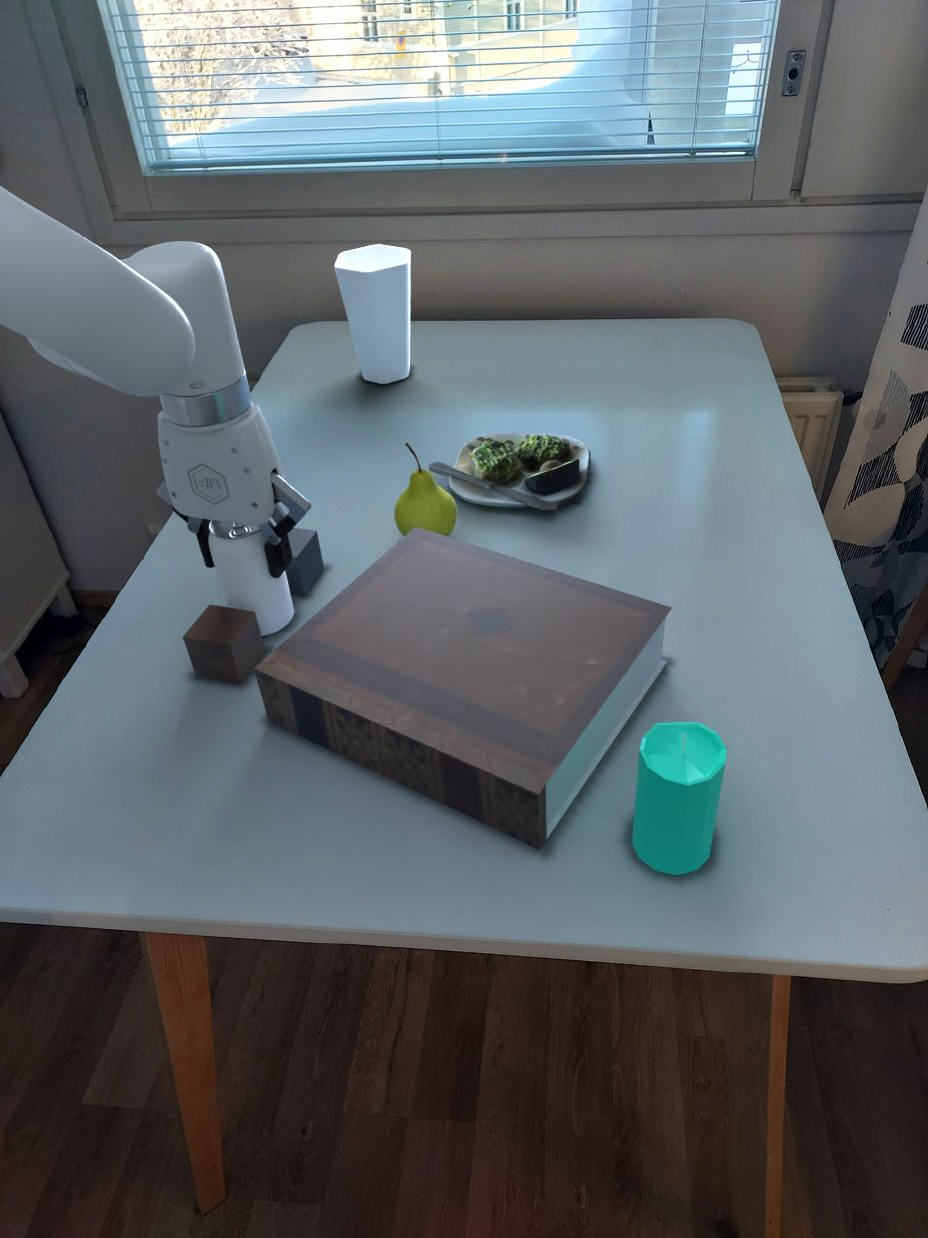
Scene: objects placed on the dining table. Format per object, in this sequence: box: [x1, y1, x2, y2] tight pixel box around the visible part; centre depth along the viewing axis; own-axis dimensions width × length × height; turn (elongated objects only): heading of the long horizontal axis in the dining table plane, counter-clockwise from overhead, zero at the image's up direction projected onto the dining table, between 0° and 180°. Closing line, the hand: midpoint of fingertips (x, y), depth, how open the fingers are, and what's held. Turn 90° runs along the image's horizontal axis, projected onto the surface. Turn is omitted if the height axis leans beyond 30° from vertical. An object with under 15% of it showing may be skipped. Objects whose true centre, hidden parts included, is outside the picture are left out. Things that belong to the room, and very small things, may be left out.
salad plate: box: [427, 432, 592, 512], centre depth 112 cm, size 19×18×5 cm
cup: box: [333, 244, 412, 385], centre depth 134 cm, size 11×10×17 cm
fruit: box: [393, 441, 458, 537], centre depth 101 cm, size 7×7×12 cm
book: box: [253, 527, 673, 850], centre depth 83 cm, size 24×28×6 cm
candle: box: [631, 721, 728, 876], centre depth 67 cm, size 6×6×12 cm
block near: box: [182, 603, 266, 685], centre depth 89 cm, size 5×5×5 cm
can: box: [208, 520, 295, 638], centre depth 92 cm, size 6×6×12 cm
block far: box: [274, 524, 325, 596], centre depth 99 cm, size 5×5×5 cm
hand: (249, 563), depth 91 cm, fingers closed on can, 6 cm apart
